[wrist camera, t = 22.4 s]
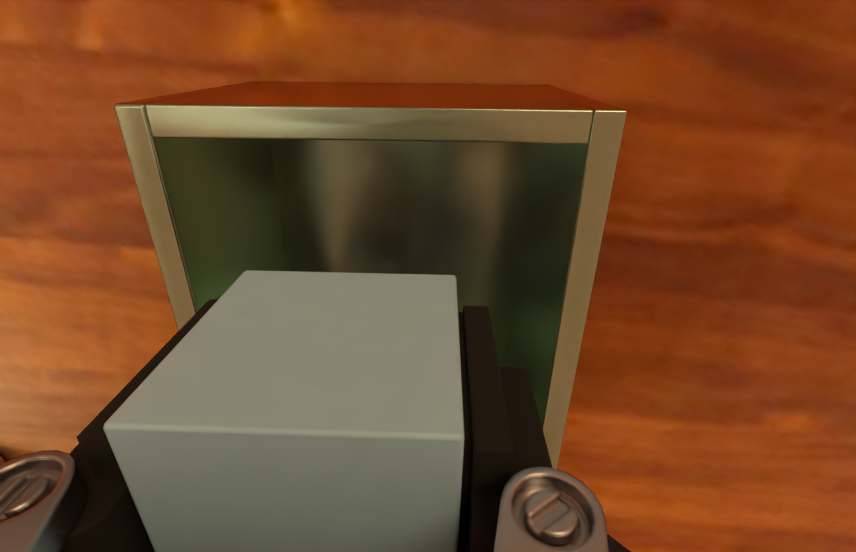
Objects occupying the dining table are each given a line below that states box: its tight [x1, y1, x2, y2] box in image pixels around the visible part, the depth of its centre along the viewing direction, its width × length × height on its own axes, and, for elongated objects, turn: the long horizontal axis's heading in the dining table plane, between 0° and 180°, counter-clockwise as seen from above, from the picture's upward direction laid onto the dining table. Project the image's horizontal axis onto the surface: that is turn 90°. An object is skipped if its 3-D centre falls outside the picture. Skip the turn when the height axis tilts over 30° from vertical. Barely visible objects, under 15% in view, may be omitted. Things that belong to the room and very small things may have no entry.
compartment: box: [114, 82, 627, 469], centre depth 18 cm, size 16×13×9 cm
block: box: [103, 270, 465, 552], centre depth 8 cm, size 4×4×4 cm
